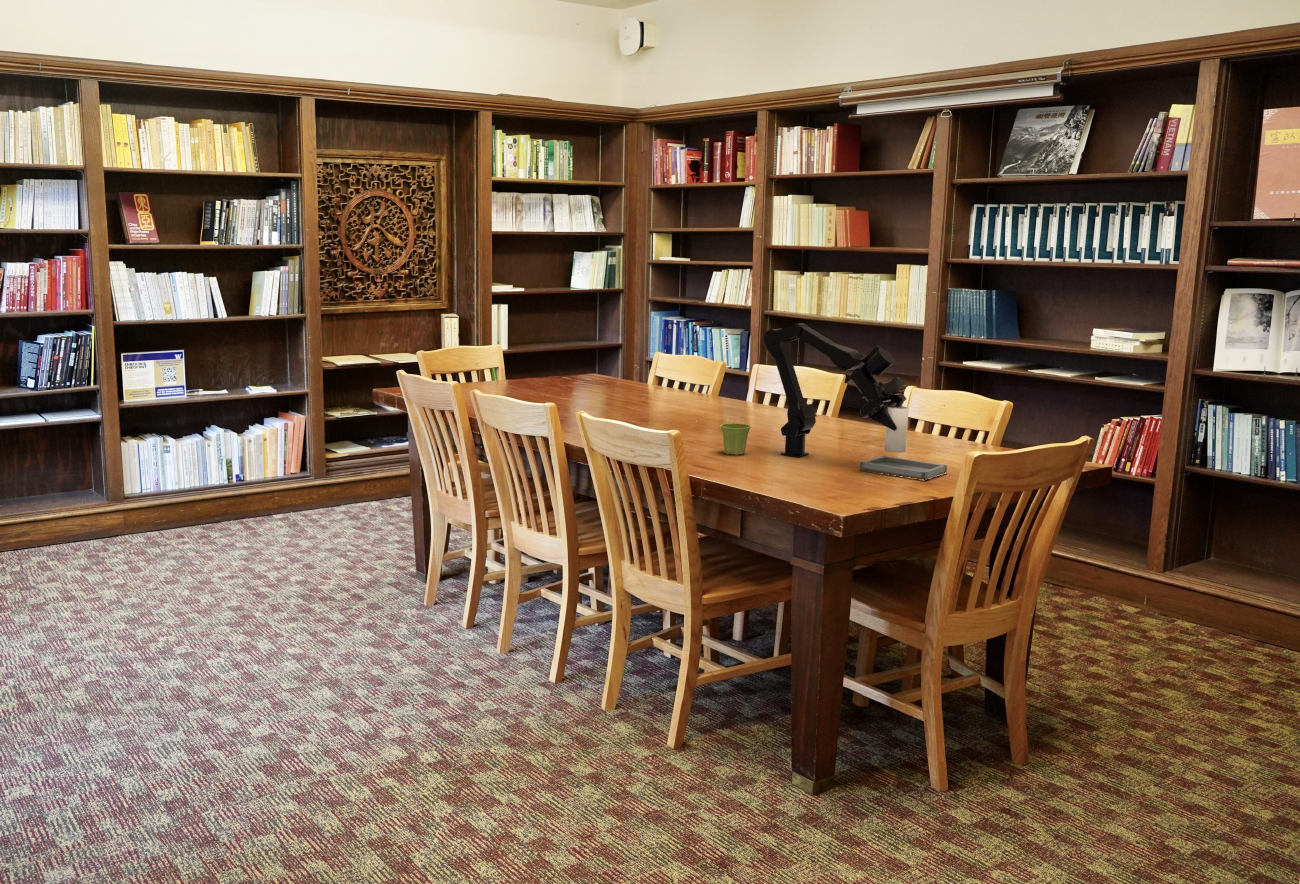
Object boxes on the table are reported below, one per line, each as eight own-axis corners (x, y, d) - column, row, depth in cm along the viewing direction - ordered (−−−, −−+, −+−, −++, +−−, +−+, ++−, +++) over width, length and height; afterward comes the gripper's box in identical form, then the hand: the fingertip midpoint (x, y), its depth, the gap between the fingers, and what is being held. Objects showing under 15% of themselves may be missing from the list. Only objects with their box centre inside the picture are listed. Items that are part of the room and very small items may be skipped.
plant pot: (724, 457, 334) (726, 428, 332) (714, 451, 343) (715, 423, 341) (754, 456, 336) (755, 427, 335) (743, 450, 345) (744, 422, 344)
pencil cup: (893, 453, 315) (896, 409, 313) (879, 449, 320) (882, 406, 318) (910, 451, 318) (913, 408, 316) (895, 448, 323) (898, 405, 321)
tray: (924, 481, 307) (925, 472, 306) (859, 470, 319) (860, 462, 319) (946, 474, 317) (947, 465, 317) (882, 463, 330) (883, 455, 329)
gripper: (872, 370, 310) (906, 414, 306) (902, 365, 325) (935, 407, 320) (845, 395, 316) (878, 439, 312) (876, 389, 331) (907, 431, 326)
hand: (900, 428), depth 317 cm, fingers closed on pencil cup, 6 cm apart
